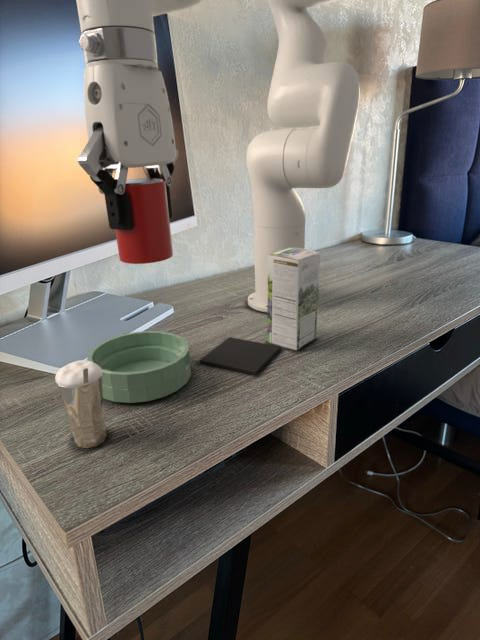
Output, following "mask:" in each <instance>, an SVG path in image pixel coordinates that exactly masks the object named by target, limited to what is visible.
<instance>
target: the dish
mask: <svg viewBox="0 0 480 640" xmlns="http://www.w3.org/2000/svg"><path fill="white" fill-rule="evenodd" d="M86 361H91V362H94V363H95V364H97V365H98V366H99V367H100V368H101V370H102V383H103V399H104V400H107V401H110V402H113V403H126V404H135V403H144V402H151V401H154V400H159V399H162V398H164V397H167V396H170V395H171V394H173V393H175V392H177V391H179V390H181V389H182V388H183V387H184V386H185V385H187V384H188V382H189V380H190V378H191V376H192V366H191V355H190V345H189V341H188V340H186V338H184V337H183V336H181V335H179V334H176V333H174V332H168V331H163V330H162V331H161V330H144V331H133V332H129V333H125V334H120V335H117V336H116V335H115V336H114V337H111V338H108V339H106V340H104V341H102V342H100V343H98V344H97V345H95V346H94V347H93V348H92V349H91V350H89V352H88V355H87V357H86Z"/></svg>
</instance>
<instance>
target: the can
mask: <svg viewBox="0 0 480 640" xmlns="http://www.w3.org/2000/svg"><path fill="white" fill-rule="evenodd" d="M124 193H125V194H129V196H130V202H131V210H132V217H133V225H134V227H133V229H132V230H116V229H114V231H115V237H116V245H117V251H118V257H119V262H121V263H125V264H131V265H143V264H144V265H145V264H153V263H158V262H159V263H160V262H163V261H166V260H169V259H171V258H172V257H173V255H174V251H173V250H174V249H173V242H172V232H171V231H172V230H171V221H170V219H169V211H168V201H167V192H166V182H165V181H164V180H163V179H160V178H147V177H146V178H128V179H127V180H126V186H125V191H124Z"/></svg>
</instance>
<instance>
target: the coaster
mask: <svg viewBox="0 0 480 640" xmlns="http://www.w3.org/2000/svg"><path fill="white" fill-rule="evenodd" d="M281 348H282V346H279V345H275V344H270V343H264V342H259V341H258V342H257V341H253V340H246V339H242V338H236V337H228V338H227V339H225V340H224V341H223V342H222V343H220V344H219V345H218V346H216V347H215V348H214V349H212V350H211V351H210V352H208V353H207V354H206V355H205V356H204V357H202V358H201V359H200V360H199V363H200V364H203V365H207V366H214V367H217V368H222V369H226V370H229V371H230V370H231V371H235V372H240V373H244V374H249V375H254V376H256V375H257V374H258V373H259V372H260V371H261V370H262V369H263V368H264V367H265V366H266V365H267V364H268V363H269V362H270V361H271V360H272V359H273V358H274V357H275V356H276V355H277V354H278V353H279V352H280V351H281Z"/></svg>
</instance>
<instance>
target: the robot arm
mask: <svg viewBox="0 0 480 640" xmlns="http://www.w3.org/2000/svg"><path fill="white" fill-rule="evenodd" d="M75 1H76V6H77V8H76V9H77V14H78V20H79V26H80V33H81V35H80V37H79V40H78V45H79V47H80V49H81V50H82V51H83V53H84V60H85V66H86V67H84V68H83V101H84V103H83V104H84V115H85V116H84V117H85V127H86V133H87V140H88V141H87V143H86V144H85V146H84V148H83V149H82V151H81V152H80V154H79V156H78V157H77V162H78V163H77V164H78V165H79V166H80V167H81V168H82V169H83V171H84V173H86V174H87V175H88V176H89V179H90V180H91V181H92V183H94V185H96V186H97V188H98V192H99V193H100V194H101V195H104V201H105V202H104V203H105V207H106V213H107V220H108V226H109V228H110V230H115V229H116V230H132V229H133V227H134V225H133V217H132V210H131V202H130V196H129V194H125V193H124V191H125V186H126V180H128V179H127V178H128V173H129V169H132V168H133V169H134V168H135V169H136V168H142V170H143V172H144V174H145V177H146V178H160V179H163V180H164V181H165V182H166V192H167V201H168V211H169V220H170V219H172V218H173V211H172V200H171V191H170V186H172V184H173V183H172V182H173V179H172V175H173V173H174V170H175V164H176V162H177V160H178V157H179V151H178V149H177V147H176V139H175V138H176V137H175V131H174V125H173V124H174V123H173V118H172V112H171V106H170V101H169V96H168V91H167V87H166V83H165V79H164V76H163V74H162V71H161V70H159V65H158V63H159V62H158V53H157V41H156V34H155V25H154V24H155V22H154V17H157V16H161V15H165V14H170V13H175V12H178V11H183V10H186V9H190V8H193V7H195V6H197V5H198V4H200V3H201V2H203V1H204V0H75ZM340 1H342V0H267V3H268V6H269V9H270V12H271V15H272V19H273V22H274V25H275V28H276V32H277V39H278V46H277V53H276V58H275V63H274V66H273V67H274V68H273V72H272V76H271V82H270V85H269V91H268V96H267V105H266V108H267V109H266V110H267V115H268V118H269V120H270V121H271V122H272V123H273V124H274V125H276V126H278V127H281V128H283V129H272V130H267V131H264V132H261V133H258V135H256V136H255V137H254V138H252V140H251V141H250V142H249V144H248V147H247V150H246V158H245V159H246V168H247V173H248V178H249V182H250V188H251V195H252V208H253V211H252V212H253V250H254V251H253V252H254V292H252V293H251V294H249V295H248V297H247V306H249V307H250V308H251V309H252V310H255V311H257V312H258V311H259V312H262V313H267V314H268V255H270V254H273V253H275V252H278V251H281V250H284V249H287V248H302V249H306V246H305V245H306V210H305V206H304V204H303V202H302V199H301V198H300V196H299V194H298V192H297V191H296V189H329V188H333V187H335V186H337V185H338V184H339V183H340V182H341V181H342V178H343V176H344V175H345V172H346V168H347V165H348V161H349V156H350V151H351V146H352V143H353V137H354V132H355V129H356V128H355V127H356V123H357V118H358V114H359V108H360V101H361V86H360V84H361V83H360V78H359V75H358V73H357V71H356V69H355V67H353V66H352V65H351V64H350V63H347V62H343V61H333V62H332V61H331V62H325V61H326V55H327V51H328V43H327V38H326V36H325V34H324V32H323V30H322V28H321V27H320V25H318V23H317V22H316V21H315V19H313V18H312V16H311V14H310V12H309V10H308V8H311V7H317V6H321V5H327V4H330V3H331V4H332V3H335V2H340ZM285 128H286V129H285ZM113 173H115V177H113Z"/></svg>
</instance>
